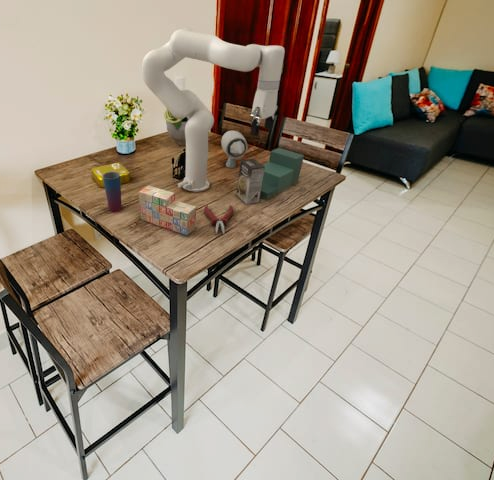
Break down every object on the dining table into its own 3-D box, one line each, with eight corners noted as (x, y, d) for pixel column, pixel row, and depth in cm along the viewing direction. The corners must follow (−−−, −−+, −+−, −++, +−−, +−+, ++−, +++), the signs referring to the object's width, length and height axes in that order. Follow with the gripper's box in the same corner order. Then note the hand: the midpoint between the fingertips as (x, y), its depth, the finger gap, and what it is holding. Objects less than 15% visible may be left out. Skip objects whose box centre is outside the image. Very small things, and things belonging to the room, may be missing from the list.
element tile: (91, 176, 164) (90, 167, 161) (120, 170, 169) (119, 161, 167) (101, 188, 153) (99, 178, 150) (131, 181, 159) (130, 172, 156)
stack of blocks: (195, 228, 125) (197, 199, 118) (187, 236, 121) (187, 206, 114) (149, 212, 135) (148, 184, 128) (140, 219, 131) (138, 191, 124)
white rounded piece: (210, 172, 166) (212, 137, 156) (222, 158, 180) (225, 125, 170) (240, 177, 161) (244, 142, 150) (250, 162, 175) (255, 129, 165)
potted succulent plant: (185, 133, 215) (186, 92, 200) (214, 143, 199) (217, 100, 185) (155, 142, 202) (153, 99, 188) (182, 154, 186) (183, 108, 172)
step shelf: (266, 199, 143) (271, 171, 135) (242, 189, 151) (245, 162, 143) (298, 182, 156) (304, 155, 149) (273, 173, 164) (278, 147, 157)
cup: (115, 203, 142) (111, 169, 133) (127, 208, 138) (123, 174, 130) (103, 209, 138) (98, 175, 129) (115, 214, 134) (110, 180, 125)
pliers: (204, 236, 121) (204, 230, 119) (203, 208, 137) (204, 203, 136) (236, 238, 120) (237, 232, 119) (232, 209, 136) (233, 204, 135)
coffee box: (235, 194, 147) (239, 159, 137) (248, 192, 148) (253, 157, 139) (246, 204, 140) (251, 168, 130) (259, 202, 141) (265, 165, 132)
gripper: (271, 80, 129) (264, 125, 139) (246, 87, 119) (240, 135, 129) (289, 82, 124) (281, 129, 134) (264, 90, 114) (257, 140, 124)
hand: (261, 132), depth 132 cm, fingers open, 9 cm apart
